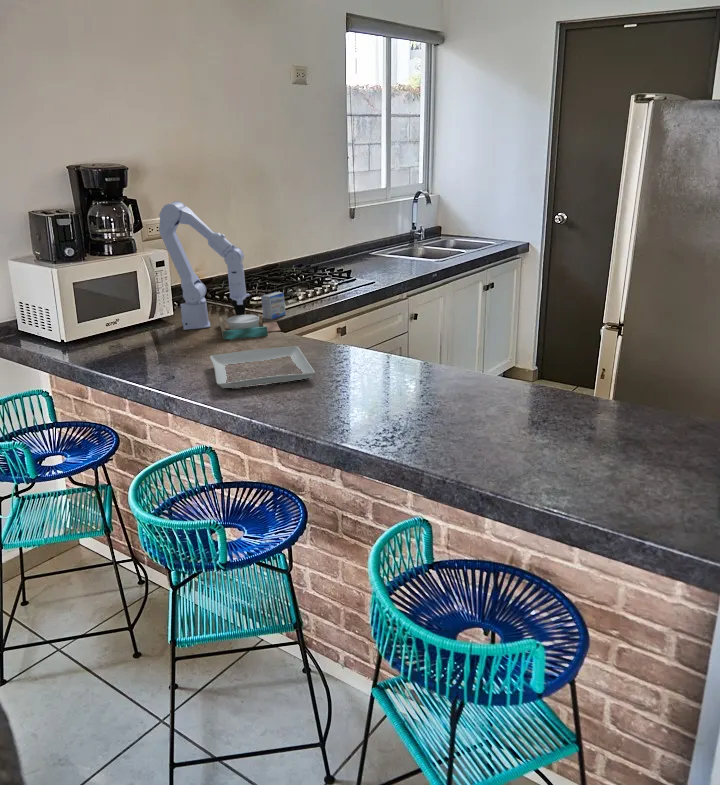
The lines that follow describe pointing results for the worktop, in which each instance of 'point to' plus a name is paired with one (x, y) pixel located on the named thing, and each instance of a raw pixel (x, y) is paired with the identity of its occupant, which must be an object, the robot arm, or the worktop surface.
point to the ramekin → (243, 322)
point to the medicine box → (273, 305)
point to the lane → (249, 330)
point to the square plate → (260, 355)
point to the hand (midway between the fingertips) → (240, 319)
